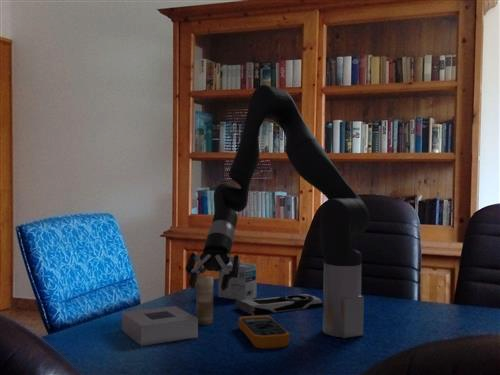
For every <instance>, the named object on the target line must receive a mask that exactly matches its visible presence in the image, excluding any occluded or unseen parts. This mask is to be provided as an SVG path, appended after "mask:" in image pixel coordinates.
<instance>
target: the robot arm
mask: <svg viewBox="0 0 500 375" xmlns="http://www.w3.org/2000/svg"><path fill="white" fill-rule="evenodd" d="M265 119H267V120H272V121H274V122H276V123H277V124H278V127H279V128H281V130H282V132H283V133H284V135H285V153H286V156H287V158H288V160H289V162H290V164H291V165H292V167H293V168H294V170H295V171H296V172H297V174H298V175H299V176H300V177H301V178H302V179H303V180H304V181H305V182H307V183H308V184H309V185H311V186H312V187H313V188H315V189H316V190H318V191H319V192H320V193H321V194H323V196H324V197H326V199H327V201H325V202H324V204H323V205H322V208H321V211H320V217H319V219H320V220H319V221H320V222H319V228H320V230H319V231H320V248H321V253H322V255H323V294H322V296H323V298H322V303H323V307H322V332H323V334H326V335H328V336H331V337H336V338H337V337H338V338H342V339H349V338H356V337H360V336H363V335H364V310H365V309H364V308H365V306H364V303H365V300H364V299H365V297H364V296H363V295H362V262H363V256H362V253H361V252H360V251H359V250H356V249H355V248H353V247H352V244H351V238H350V236H354V235H360V234H362V233H364V232H365V231H366V230H368V228H369V225H370V221H371V219H370V218H371V217H370V212H369V210H368V208H367V207H368V206H366V204H365V202H364V201H363V200H362V198H361V197H360V196H359V194H357V192H356V191H354V189H353V188H352V187H351V186H350V185H349V184H348V182H347V181H346V180H345V179H344V177H343V175H341V173H340V172H339V170H338V168H337V167H336V166H335V165H334V162H332V160H331V159H330V157H329V156H328V154H327V151H326V150H325V149H324V147H323V146H322V144H321V143H320V141H318V139H317V138H316V137H315V135H314V133H313V132H312V130H311V129H310V127H309V126H308V124H307V122H305V120H304V119H303V117H302V115H301V113H300V111H299V109H298V106H297V105H296V102H295V101H294V99H293V98H292V96H291V94H290V93H289V92H288V91H287V90H285V89H284V88H283V89H282V88H279V87H275V86H271V85H268V84H261V85H259V86H258V87H256V88H255V89H254V91H253V93H252V95H251V96H250V100H249V103H248V107H247V111H246V116H245V120H244V124H243V128H242V129H243V130H242V134H241V138H240V143H239V145H238V148H237V151H236V154H235V156H234V159H233V161H232V162H231V163H232V164H231V166H230V169H229V172H228V177H229V178H230V179H231V180H232V181H234V182H235V183H236V184H238V185H239V186H240V187H235V186H233V185H231V184H227V183H224V182H223V183H220V184H218V185H217V186H216V187H215V190H214V191H213V208H214V212H213V218H212V221H211V225H210V227H209V228H208V232H207V236H206V239H205V241H204V242H205V243H204V247H203V250H202V253H201V254H200V255H199V254H196V253H195V252H191V253H190V255H189V258H188V261H187V264H186V265H185V271H186V274H187V276H189V280H188V285H189V287H190V288H191V289H192V290H194V289H195V288H196V278H197V276H201V274H204V273H205V272H212V271H213V272H218V271H219V270H221V271H222V273H223V274H224V275H223V279H222V284H221V289H222V291H225V289H227V288H228V285H229V280H230V278H233V277H234V278H237V277H238V270H239V264H240V263H241V262H240V261H241V260H240V257H239V255H238V254H235V255H234V256H231V251H232V248H233V243H234V241H235V232H236V227H237V223H238V214H237V213H241V212H243V211H244V210H245V209H246V208H247V205H248V200H249V191H250V186H251V185H250V184H251V181H252V178H253V177H254V176H253V175H254V173H255V171H256V169H257V167H258V163H259V160H260V141H259V140H260V138H259V137H260V130H261V127H262V124H263V122H264V121H265ZM229 262H231V263H232V265H233V267H232V271H228V269H227V267H226V265H227V264H228V263H229Z"/></svg>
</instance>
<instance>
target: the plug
mask: <svg viewBox="0 0 500 375" xmlns="http://www.w3.org/2000/svg"><path fill="white" fill-rule="evenodd" d="M195 288H196V290H195V292H196V294H195V297H196V299H195V302H196V303H195V308H196V309H195V317H196V318H198V326H201V325H202V326H208V325H212V324H213V323H214V276H213V275H207V274H206V275H198V276H197V278H196V284H195Z"/></svg>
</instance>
